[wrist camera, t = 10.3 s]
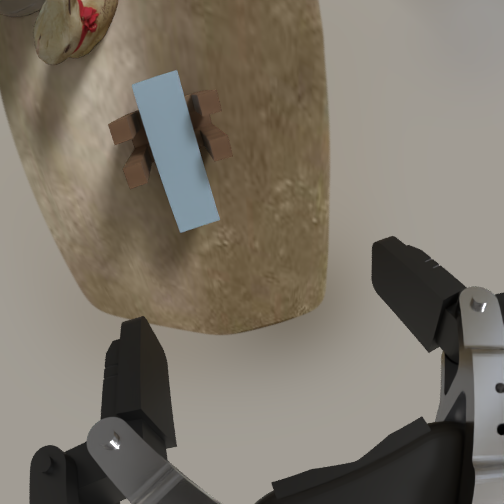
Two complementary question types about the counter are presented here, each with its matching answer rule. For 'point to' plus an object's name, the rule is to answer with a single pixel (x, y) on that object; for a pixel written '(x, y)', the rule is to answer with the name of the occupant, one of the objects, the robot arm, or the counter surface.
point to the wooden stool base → (202, 125)
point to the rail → (176, 150)
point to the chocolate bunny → (71, 28)
